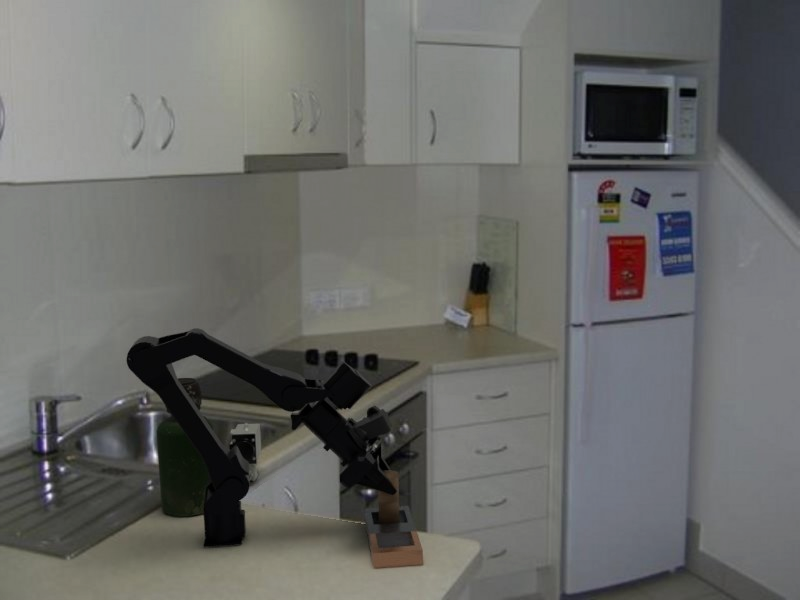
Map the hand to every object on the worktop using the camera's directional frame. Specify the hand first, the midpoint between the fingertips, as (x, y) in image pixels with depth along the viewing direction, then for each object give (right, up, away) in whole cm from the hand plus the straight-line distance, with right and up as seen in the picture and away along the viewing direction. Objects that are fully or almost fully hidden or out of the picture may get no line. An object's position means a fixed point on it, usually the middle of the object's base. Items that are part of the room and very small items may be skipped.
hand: (396, 489), depth 161 cm
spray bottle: (-40, -7, +15) cm, 43 cm away
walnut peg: (-1, -7, +1) cm, 7 cm away
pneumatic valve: (-31, -5, +31) cm, 44 cm away
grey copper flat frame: (-1, -8, -4) cm, 9 cm away
